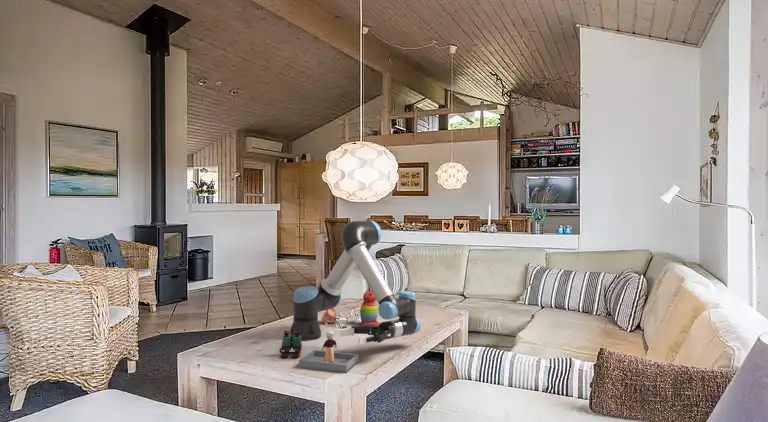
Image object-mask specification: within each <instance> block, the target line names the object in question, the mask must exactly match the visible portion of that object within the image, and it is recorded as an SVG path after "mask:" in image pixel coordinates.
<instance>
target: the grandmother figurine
mask: <svg viewBox="0 0 768 422" xmlns="http://www.w3.org/2000/svg"><path fill="white" fill-rule="evenodd" d="M334 336H335V333H334V332H333V331H332V330H328V331H326V333H325V337H326V338H327V339H326V340H325V342H324V343H323V345H322V348H321V350H320V351H326V352H325V362H331V363H333V362H334V352H335V351H334V348H337V347H338V345H337V344H338V343H337V341H336V340H335V339H334Z"/></svg>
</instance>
